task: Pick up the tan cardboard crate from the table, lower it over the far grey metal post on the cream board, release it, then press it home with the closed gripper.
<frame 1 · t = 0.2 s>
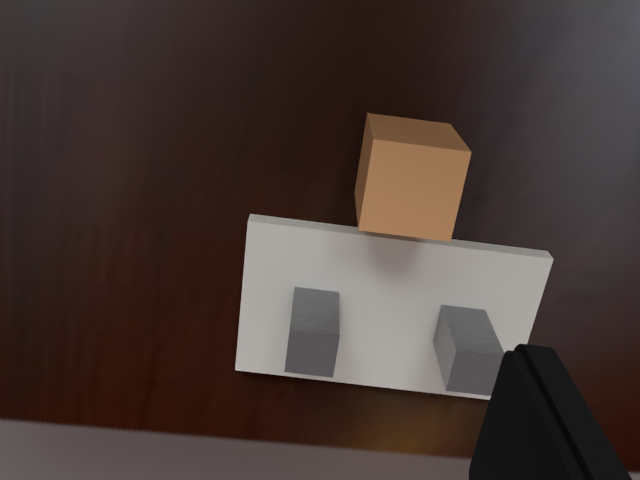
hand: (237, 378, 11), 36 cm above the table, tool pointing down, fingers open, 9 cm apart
board: (385, 308, 51), on the table
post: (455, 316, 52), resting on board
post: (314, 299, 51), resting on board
tan cardboard crate: (401, 158, 46), on the table
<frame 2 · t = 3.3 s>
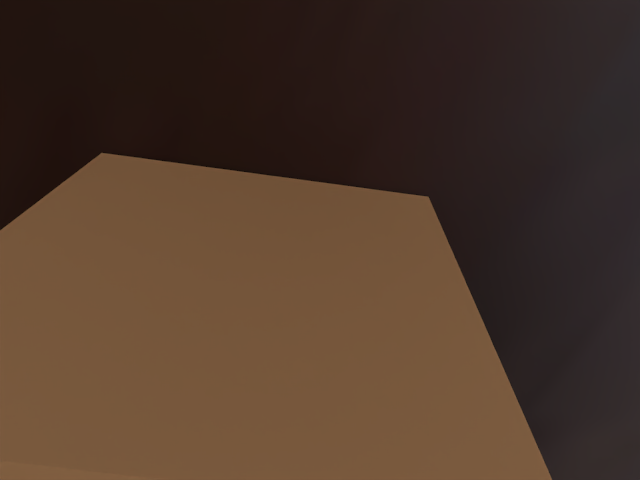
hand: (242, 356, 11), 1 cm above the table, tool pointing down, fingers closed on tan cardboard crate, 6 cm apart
tan cardboard crate: (252, 316, 13), on the table, touching gripper
when the fingers open (4 cm above the table, at t = 9.8 s): tan cardboard crate drops 1 cm, resting on board.
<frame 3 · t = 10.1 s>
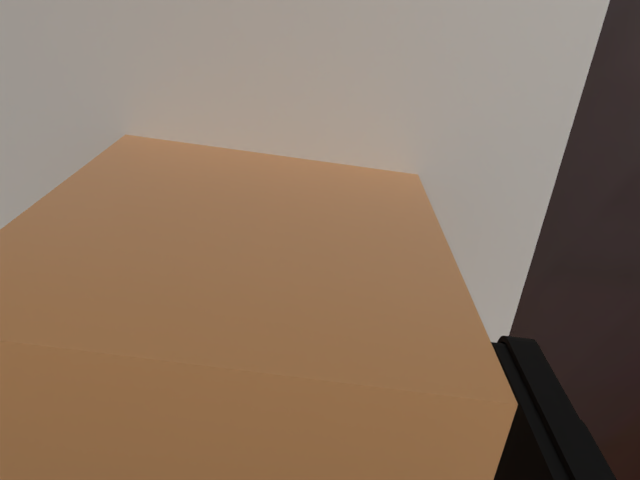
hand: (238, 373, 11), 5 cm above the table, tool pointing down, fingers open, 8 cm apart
board: (27, 226, 15), on the table
tan cardboard crate: (258, 284, 14), point 1 cm above the table, touching board
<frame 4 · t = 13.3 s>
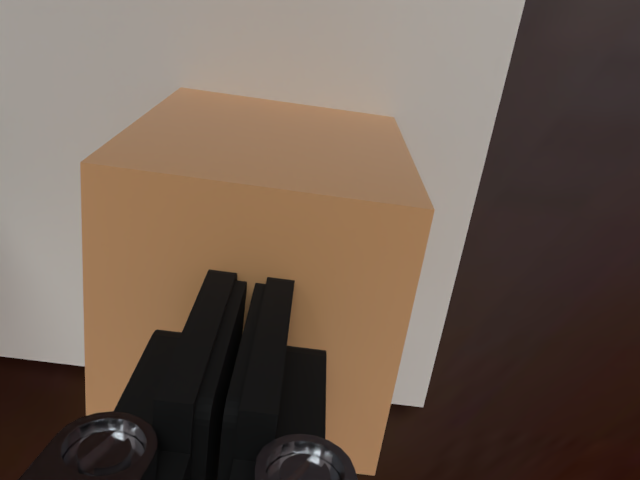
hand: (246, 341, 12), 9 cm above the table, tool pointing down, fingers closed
board: (98, 163, 20), on the table
tan cardboard crate: (276, 202, 19), point 1 cm above the table, touching board, gripper
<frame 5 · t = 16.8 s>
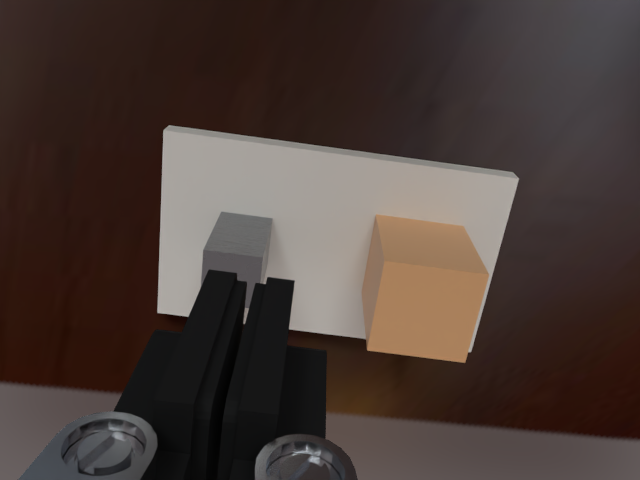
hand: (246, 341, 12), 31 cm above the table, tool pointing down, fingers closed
board: (328, 241, 45), on the table
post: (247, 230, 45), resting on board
tan cardboard crate: (411, 260, 44), point 1 cm above the table, touching board
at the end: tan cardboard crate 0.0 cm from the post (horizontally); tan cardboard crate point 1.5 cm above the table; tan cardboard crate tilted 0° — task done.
